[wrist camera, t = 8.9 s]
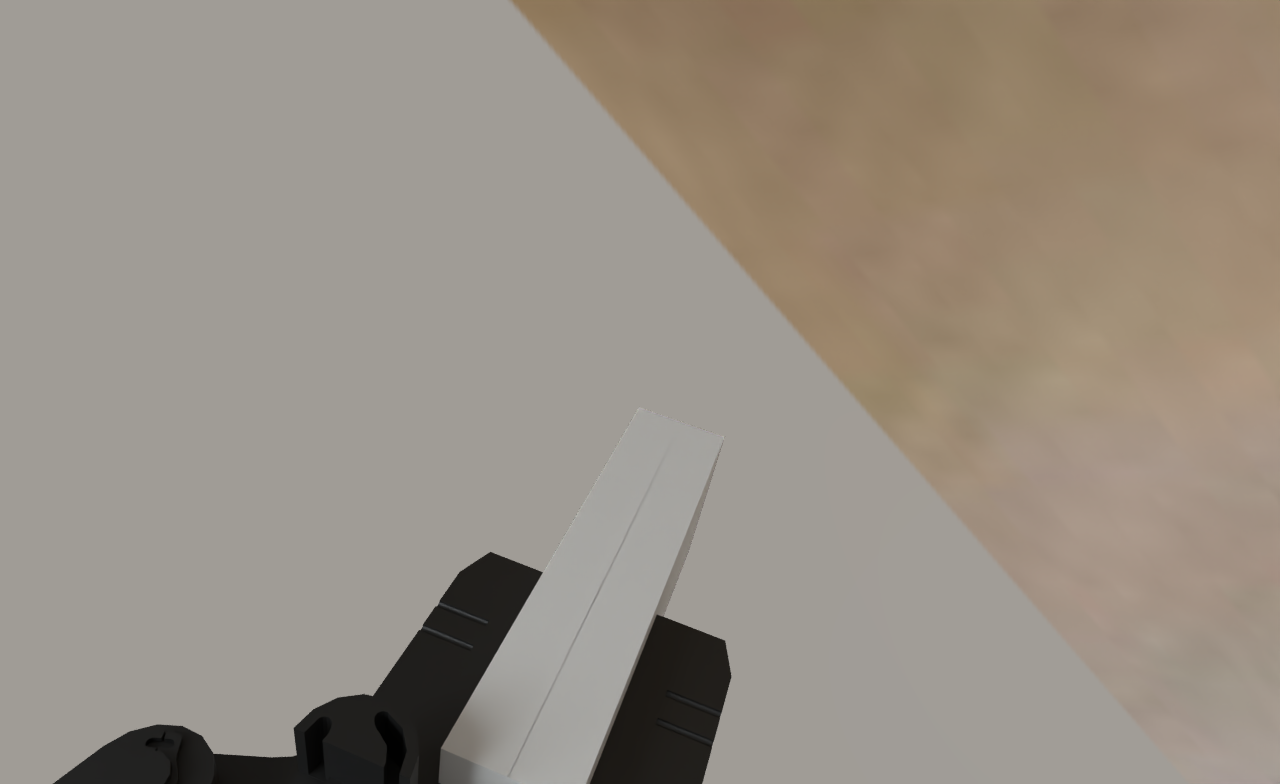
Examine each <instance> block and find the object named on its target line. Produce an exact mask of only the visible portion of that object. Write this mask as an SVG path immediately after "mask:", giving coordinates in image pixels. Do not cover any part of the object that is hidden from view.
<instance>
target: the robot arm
mask: <svg viewBox="0 0 1280 784" xmlns="http://www.w3.org/2000/svg"><path fill="white" fill-rule="evenodd" d="M723 441H724V436H721V435H718V434H715V433H712V432H710V431H707V430H704V429H701V428H698V427H695V426H692V425H689V424H686V423H683V422H681V421H678V420H675V419H672V418H669V417H666V416H663V415H661V414H658V413H655V412H652V411H649V410H646V409H643V408H640V407H639V408H638V410H637V411H636V413H635V415H634V417H633V418H632V420H631V422H630V424H629V425H628V427H627V429H626V430H625V432H624V434H623V436H622V437H621V439H620V441H619V442H618V444H617V446H616V448H615V449H614V451H613V453H612V455H611V456H610V458H609V460H608V461H607V463H606V465H605V467H604V469H603V470H602V472H601V474H600V475H599V477H598V479H597V480H596V482H595V484H594V486H593V488H592V489H591V491H590V492H589V494H588V496H587V498H586V499H585V501H584V503H583V505H582V506H581V508H580V510H579V511H578V513H577V515H576V517H575V518H574V520H573V522H572V523H571V525H570V527H569V529H568V530H567V532H566V534H565V536H564V537H563V539H562V541H561V542H560V544H559V546H558V548H557V549H556V551H555V553H554V554H553V556H552V558H551V560H550V561H549V563H548V565H547V566H546V568H545V570H544V572H540V571H538V570H536V569H533V568H530V567H528V566H525V565H523V564H520V563H517V562H515V561H512V560H510V559H507V558H505V557H502V556H499V555H497V554H494V553H492V552H490V553H488V554H487V555H485V556H484V557H482V558H480V559H479V560H477V561H476V562H474V563H473V564H471V565H470V566H468V567H467V568H465V569H464V570H462V571H461V572H459V574H458V575H457V577H456V578H455V580H454V581H453V582H452V584H451V585H450V587H449V588H448V590H447V591H446V592H445V594H444V595H443V597H442V598H441V600H440V602H439V604H438V606H437V607H435V608H434V610H433V611H432V612H431V614H430V615H429V617H428V618H427V620H426V621H425V622H424V624H423V627H422V629H421V630H419V631H418V632H417V634H416V635H415V637H414V638H413V640H412V641H411V642H410V644H409V645H408V647H407V648H406V650H405V651H404V652H403V654H402V655H401V657H400V658H399V660H398V661H397V662H396V664H395V666H394V667H393V668H392V670H391V671H390V673H389V674H388V675H387V677H386V678H385V680H384V681H383V683H382V684H381V685H380V687H379V688H378V690H377V691H376V693H375V694H374V695H373V696H369V695H365V694H362V695H355V696H347V697H340V698H336V699H334V700H332V701H330V702H328V703H326V704H324V705H322V706H320V707H317V708H315V709H313V710H312V711H311V712H310V713H309V714H308V715H307V716H306V717H305V718H304V719H303V720H302V721H301V722H300V723H299V724H297V725H296V727H294V734H295V743H296V751H297V755H296V756H293V757H273V758H271V757H270V758H269V757H256V756H240V755H223V754H213V752H212V751H211V749H210V748H209V746H208V745H207V743H206V742H205V740H204V739H203V737H202V736H201V735H199V734H197V733H195V732H193V731H191V730H189V729H187V728H185V727H183V726H171V725H154V726H150V727H146V728H142V729H138V730H134V731H130V732H128V733H127V734H125V735H123V736H121V737H119V738H117V739H116V740H114V741H112V742H110V743H108V744H107V745H105V746H103V747H102V748H100V749H99V750H98V751H97V752H95V753H94V754H92V755H91V756H90V757H88V758H87V759H86V760H84V761H83V762H82V763H80V764H79V765H78V766H76V767H75V768H74V769H72V770H71V771H69V772H68V773H67V774H65V775H64V776H63V777H61V778H60V779H59V780H57V781H56V782H55V783H53V784H702V782H703V779H704V775H705V771H706V768H707V764H708V760H709V757H710V753H711V749H712V744H713V741H714V738H715V734H716V731H717V727H718V724H719V720H720V715H721V712H722V709H723V705H724V702H725V698H726V694H727V690H728V687H729V683H730V679H731V672H730V666H729V660H728V655H727V649H726V643H725V641H724V640H722V639H719V638H717V637H714V636H712V635H709V634H706V633H704V632H701V631H699V630H696V629H693V628H691V627H688V626H686V625H683V624H680V623H678V622H675V621H673V620H670V619H668V618H665V617H663V616H664V614H665V611H666V608H667V606H668V603H669V601H670V598H671V596H672V593H673V590H674V588H675V585H676V583H677V580H678V577H679V575H680V572H681V570H682V567H683V565H684V562H685V559H686V557H687V554H688V552H689V548H690V545H691V542H692V539H693V536H694V533H695V530H696V526H697V523H698V520H699V517H700V514H701V510H702V507H703V504H704V501H705V498H706V494H707V491H708V488H709V485H710V482H711V478H712V476H713V472H714V469H715V466H716V463H717V460H718V456H719V453H720V450H721V447H722V444H723Z"/></svg>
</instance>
